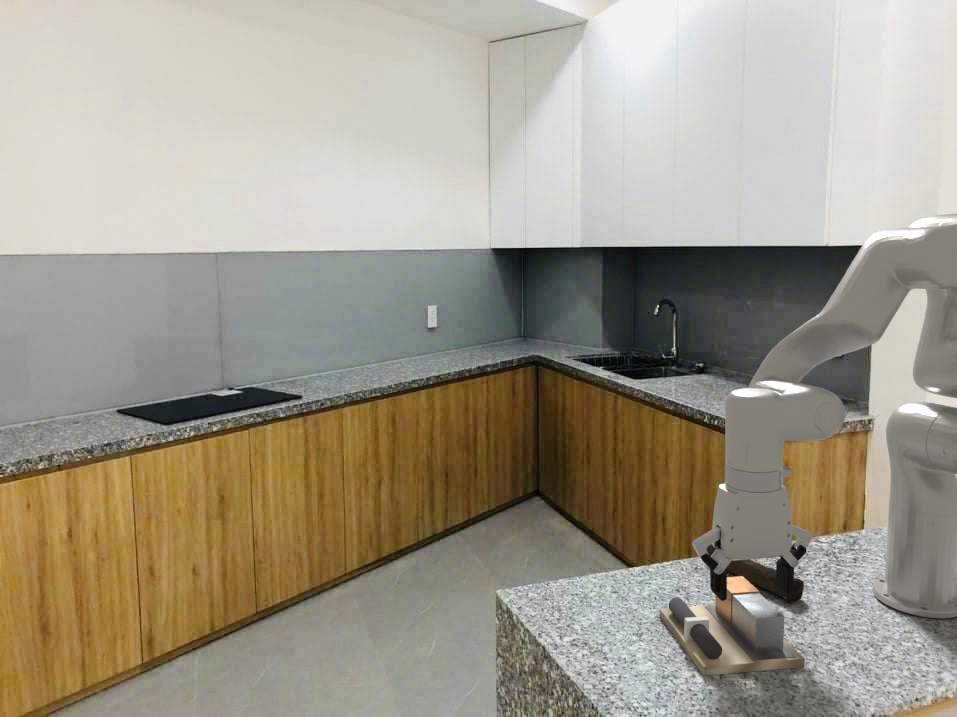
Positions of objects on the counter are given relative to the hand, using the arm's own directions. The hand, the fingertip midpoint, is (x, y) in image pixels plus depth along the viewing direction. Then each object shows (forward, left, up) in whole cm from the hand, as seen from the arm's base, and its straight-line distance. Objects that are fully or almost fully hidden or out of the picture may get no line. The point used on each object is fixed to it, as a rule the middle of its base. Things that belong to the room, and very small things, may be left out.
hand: (751, 593), depth 102 cm
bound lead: (+9, 0, -7) cm, 11 cm away
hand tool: (-8, -17, -7) cm, 20 cm away
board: (+4, 0, -7) cm, 8 cm away
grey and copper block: (+1, 0, -5) cm, 5 cm away
